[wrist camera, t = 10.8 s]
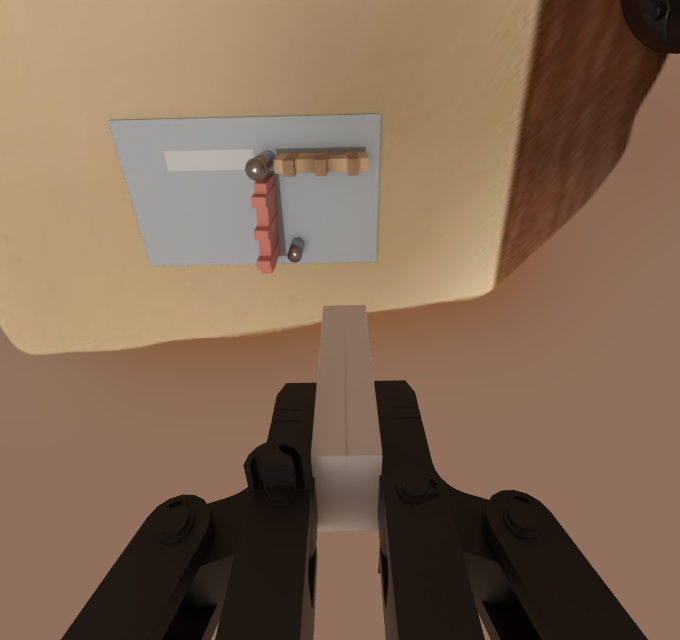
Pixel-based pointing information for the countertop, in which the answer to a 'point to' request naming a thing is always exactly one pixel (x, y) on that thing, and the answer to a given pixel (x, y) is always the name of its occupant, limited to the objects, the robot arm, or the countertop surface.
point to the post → (260, 165)
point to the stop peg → (296, 250)
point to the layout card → (248, 187)
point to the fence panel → (266, 223)
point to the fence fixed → (321, 162)
